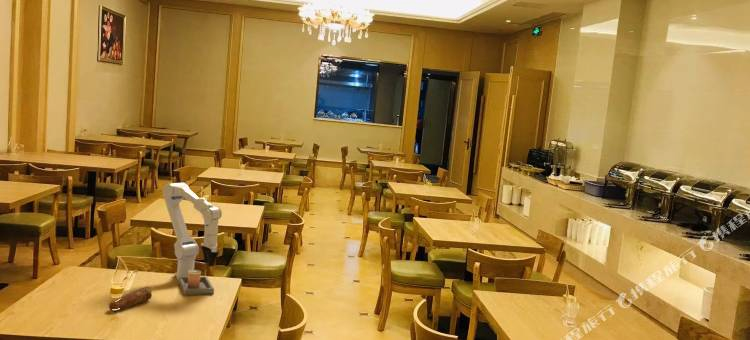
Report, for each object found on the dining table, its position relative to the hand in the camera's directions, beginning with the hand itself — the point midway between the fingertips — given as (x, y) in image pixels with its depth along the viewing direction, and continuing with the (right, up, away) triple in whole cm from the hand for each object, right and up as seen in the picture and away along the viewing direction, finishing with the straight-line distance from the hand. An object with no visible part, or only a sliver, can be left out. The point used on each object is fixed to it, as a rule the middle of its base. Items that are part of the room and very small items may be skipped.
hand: (209, 263), depth 283 cm
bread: (-22, -12, -34) cm, 42 cm away
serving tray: (-4, -10, -6) cm, 12 cm away
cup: (-5, -9, -6) cm, 12 cm away
